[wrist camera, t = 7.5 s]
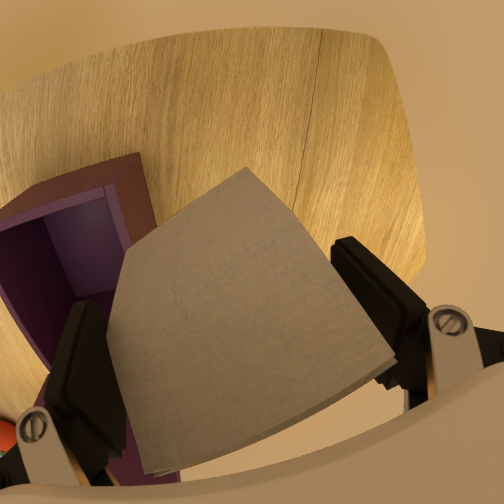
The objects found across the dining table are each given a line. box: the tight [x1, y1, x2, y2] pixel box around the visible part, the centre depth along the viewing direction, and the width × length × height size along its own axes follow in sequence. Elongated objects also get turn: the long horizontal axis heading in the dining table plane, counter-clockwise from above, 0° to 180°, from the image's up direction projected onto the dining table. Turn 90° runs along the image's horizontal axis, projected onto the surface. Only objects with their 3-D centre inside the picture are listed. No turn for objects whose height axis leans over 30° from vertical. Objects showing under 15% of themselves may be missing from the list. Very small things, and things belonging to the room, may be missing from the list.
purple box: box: [0, 152, 157, 372], centre depth 26 cm, size 16×14×13 cm
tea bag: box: [106, 167, 397, 477], centre depth 10 cm, size 4×7×10 cm, turn 121°
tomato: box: [0, 420, 17, 455], centre depth 39 cm, size 10×10×10 cm
